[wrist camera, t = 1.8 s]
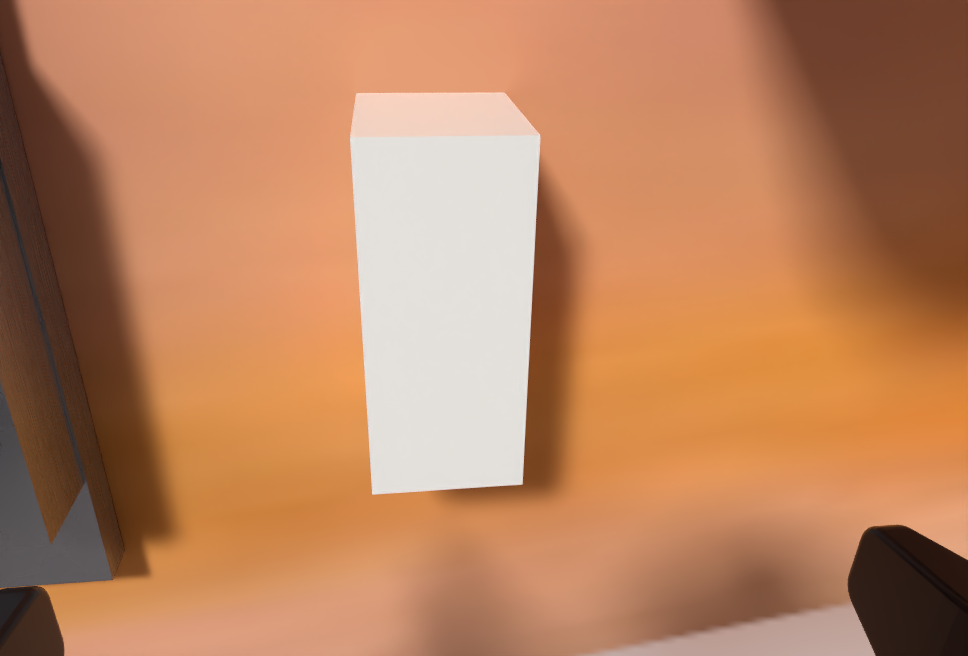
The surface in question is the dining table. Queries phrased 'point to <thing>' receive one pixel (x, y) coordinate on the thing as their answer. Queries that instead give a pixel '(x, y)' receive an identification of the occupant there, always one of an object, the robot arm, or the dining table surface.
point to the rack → (43, 405)
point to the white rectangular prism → (445, 285)
